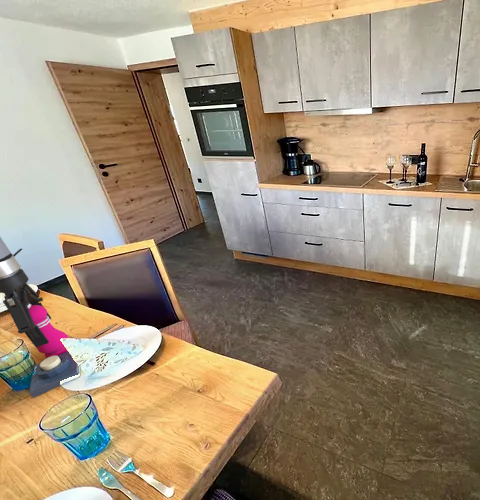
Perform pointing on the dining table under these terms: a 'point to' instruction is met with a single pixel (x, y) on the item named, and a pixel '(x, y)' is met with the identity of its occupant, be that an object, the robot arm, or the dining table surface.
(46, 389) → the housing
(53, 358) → the beige round button
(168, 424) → the dining table surface
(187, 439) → the dining table surface
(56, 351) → the pepper mill
